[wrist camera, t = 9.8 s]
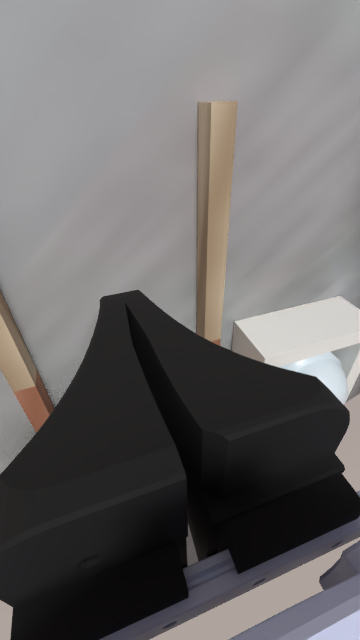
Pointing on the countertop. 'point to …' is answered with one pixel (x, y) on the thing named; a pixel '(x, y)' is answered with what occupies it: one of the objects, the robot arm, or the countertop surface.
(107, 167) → the countertop surface
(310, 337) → the dome housing
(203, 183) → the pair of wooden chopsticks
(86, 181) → the countertop surface
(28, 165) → the countertop surface
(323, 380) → the dome
